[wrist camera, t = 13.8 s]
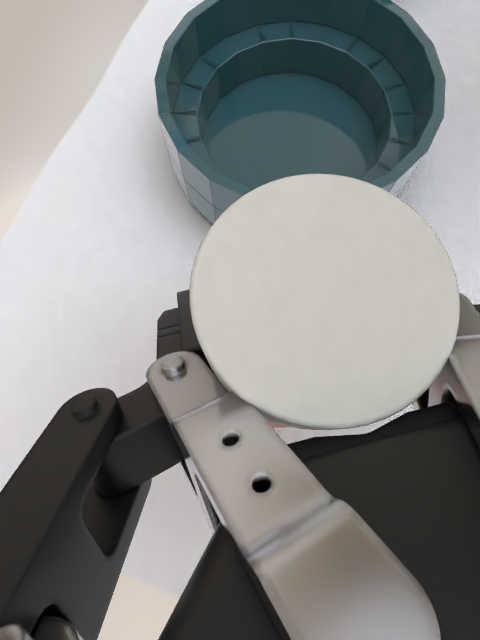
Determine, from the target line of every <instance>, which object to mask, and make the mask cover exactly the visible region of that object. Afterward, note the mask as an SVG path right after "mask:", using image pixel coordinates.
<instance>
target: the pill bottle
mask: <svg viewBox="0 0 480 640" xmlns="http://www.w3.org/2000/svg"><path fill="white" fill-rule="evenodd" d="M190 310H191V316H192V323H193V326H194V329H195V333H196V336H197V339H198V341H199V343H200V346H201V348H202V350H203V352H204V354H205V356H206V358H207V360H208V362H209V364H210V366H211V368H212V370H213V371H214V373H215V374H216V376H217V378H218V379H219V381H220V382H221V383H222V384H223V386H224V387H225V388H226V390H227V391H228V392H230V391H232V392H234V393H235V394H236V395H237V396H239V397H240V398H241V399H243V400H244V401H246V402H248V403H250V404H252V405H253V406H254V407H255V408H256V410H257V411H258V412H259V413H260V414H261V415H262V417H263V418H264V419H265V420H266V421H267V422H268V424H269V425H270V426H271V427H277V428H278V427H294V428H299V429H312V430H330V429H349V428H354V427H359V426H364V425H369V424H372V423H375V422H378V421H380V420H383V419H386V418H388V417H390V416H392V415H394V414H396V413H398V412H400V411H402V410H403V409H404V408H406V407H407V406H409V405H410V404H411V403H413V402H414V401H416V400H417V399H418V398H419V397H420V396H421V395H422V394H423V393H424V392H425V391H426V390H427V389H428V388H429V387H430V386H431V385H432V384H433V382H434V381H435V380H436V378H437V377H438V376H439V375H440V373H441V371H442V370H443V368H444V366H445V364H446V362H447V361H448V358H449V357H448V356H449V355H450V353H451V351H452V348H453V346H454V343H455V340H456V335H457V330H458V326H459V314H460V301H459V289H458V285H457V280H456V275H455V272H454V269H453V266H452V264H451V261H450V258H449V256H448V254H447V252H446V250H445V248H444V246H443V244H442V243H441V241H440V240H439V238H438V237H437V235H436V234H435V232H434V231H433V229H432V228H431V227H430V226H429V225H428V224H427V223H426V221H425V220H424V219H423V218H422V217H421V216H420V215H419V214H418V213H417V212H416V211H414V210H413V209H412V208H411V207H410V206H409V205H407V204H406V203H405V202H403V201H402V200H400V199H399V198H398V197H396V196H394V195H393V194H391V193H389V192H387V191H385V190H384V189H382V188H380V187H377V186H375V185H372V184H370V183H368V182H365V181H361V180H358V179H354V178H351V177H346V176H340V175H333V174H302V175H296V176H290V177H285V178H282V179H278V180H275V181H272V182H269V183H267V184H265V185H262V186H260V187H257V188H256V189H254V190H252V191H251V192H249V193H247V194H245V195H244V196H242V197H241V198H240V199H238V200H237V201H236V202H234V203H233V204H232V205H231V206H230V207H229V208H228V209H227V210H226V211H225V212H223V213H222V214H221V215H220V217H219V218H218V219H217V220H216V222H215V223H214V224H213V225H212V227H211V228H210V229H209V231H208V233H207V234H206V236H205V238H204V240H203V241H202V243H201V245H200V248H199V250H198V253H197V255H196V258H195V261H194V265H193V269H192V273H191V281H190Z"/></svg>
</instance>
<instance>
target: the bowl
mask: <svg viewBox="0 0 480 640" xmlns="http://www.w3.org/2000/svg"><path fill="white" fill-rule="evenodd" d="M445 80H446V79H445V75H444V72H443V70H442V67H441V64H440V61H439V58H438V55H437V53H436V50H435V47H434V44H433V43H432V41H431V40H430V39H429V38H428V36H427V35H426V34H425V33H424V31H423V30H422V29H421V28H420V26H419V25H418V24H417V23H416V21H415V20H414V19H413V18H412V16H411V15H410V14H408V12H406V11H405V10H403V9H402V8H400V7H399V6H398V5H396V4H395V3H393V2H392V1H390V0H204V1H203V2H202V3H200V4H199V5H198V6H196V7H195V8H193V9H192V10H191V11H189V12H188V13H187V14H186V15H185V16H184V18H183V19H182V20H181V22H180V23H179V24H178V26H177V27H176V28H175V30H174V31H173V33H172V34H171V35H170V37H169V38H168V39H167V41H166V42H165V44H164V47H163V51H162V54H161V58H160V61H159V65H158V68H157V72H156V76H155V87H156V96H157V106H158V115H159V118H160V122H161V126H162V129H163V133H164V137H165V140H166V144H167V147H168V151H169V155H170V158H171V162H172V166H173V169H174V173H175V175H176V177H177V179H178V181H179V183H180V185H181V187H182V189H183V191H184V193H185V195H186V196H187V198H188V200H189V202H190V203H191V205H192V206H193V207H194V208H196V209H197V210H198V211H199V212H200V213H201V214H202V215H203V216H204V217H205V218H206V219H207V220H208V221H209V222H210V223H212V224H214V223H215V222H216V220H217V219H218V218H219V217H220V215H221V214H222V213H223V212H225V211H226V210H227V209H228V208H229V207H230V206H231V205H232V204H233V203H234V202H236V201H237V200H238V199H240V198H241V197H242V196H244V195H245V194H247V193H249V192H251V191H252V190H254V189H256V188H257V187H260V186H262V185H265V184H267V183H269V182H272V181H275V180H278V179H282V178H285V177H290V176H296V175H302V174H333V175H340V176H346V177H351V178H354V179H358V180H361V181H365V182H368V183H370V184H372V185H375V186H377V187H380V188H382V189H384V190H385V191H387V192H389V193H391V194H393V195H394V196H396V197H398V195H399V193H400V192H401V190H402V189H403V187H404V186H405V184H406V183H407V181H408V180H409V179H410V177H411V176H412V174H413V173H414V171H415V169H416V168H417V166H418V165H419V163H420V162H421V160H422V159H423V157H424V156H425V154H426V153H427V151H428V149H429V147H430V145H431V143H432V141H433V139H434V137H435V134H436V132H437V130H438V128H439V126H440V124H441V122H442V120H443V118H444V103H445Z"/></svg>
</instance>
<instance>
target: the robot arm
mask: <svg viewBox="0 0 480 640" xmlns="http://www.w3.org/2000/svg"><path fill="white" fill-rule="evenodd" d="M177 301H178V308H175V309H171V310H167V311H164V312H163V314H162V315H161V316H160V318H159V319H158V324H157V330H158V331H157V338H158V339H157V360H156V361H155V362H154V363H153V364H152V365H151V366H150V367H149V369H148V370H147V373H146V378H147V382H146V383H145V384H144V385H142V386H141V387H139V388H138V389H136V390H134V391H132V392H130V393H128V394H126V395H123V396H121V397H119V398H117V397H116V395H115V393H114V392H113V391H111V390H110V389H106V388H95V389H90V390H87V391H84V392H82V393H79V394H77V395H76V396H74V397H72V398H71V399H69V400H68V401H67V402H66V403H64V404H63V405H62V406H61V408H60V409H59V410H58V411H57V413H56V414H55V416H54V417H53V419H52V420H51V421H50V423H49V424H48V426H47V427H46V428H45V430H44V431H43V433H42V434H41V436H40V437H39V438H38V440H37V441H36V443H35V444H34V445H33V447H32V448H31V450H30V451H29V453H28V454H27V455H26V457H25V458H24V460H23V461H22V462H21V464H20V465H19V467H18V468H17V469H16V471H15V472H14V474H13V475H12V477H11V478H10V479H9V481H8V482H7V484H6V485H5V486H4V488H3V489H2V491H1V492H0V640H97V638H98V635H99V632H100V629H101V627H102V624H103V621H104V618H105V615H106V612H107V609H108V606H109V604H110V600H111V598H112V595H113V592H114V589H115V586H116V584H117V581H118V578H119V575H120V572H121V569H122V566H123V564H124V561H125V558H126V555H127V552H128V549H129V546H130V543H131V541H132V538H133V535H134V532H135V529H136V526H137V523H138V521H139V518H140V515H141V512H142V509H143V506H144V503H145V500H146V498H147V495H148V492H149V489H150V486H151V480H152V478H153V477H154V476H156V475H158V474H160V473H162V472H163V471H165V470H167V469H169V468H170V467H172V466H174V465H176V464H177V463H180V465H181V467H182V469H183V471H184V473H185V475H186V477H187V479H188V482H189V484H190V486H191V488H192V490H193V492H194V494H195V496H196V498H197V500H198V502H199V504H200V506H201V508H202V510H203V513H204V515H205V517H206V520H207V522H208V524H209V527H210V529H211V531H212V534H213V536H212V538H211V540H210V542H209V544H208V546H207V547H206V549H205V551H204V553H203V555H202V557H201V559H200V561H199V563H198V565H197V567H196V569H195V570H194V572H193V574H192V576H191V578H190V580H189V582H188V584H187V586H186V588H185V590H184V591H183V593H182V595H181V597H180V599H179V601H178V603H177V605H176V607H175V609H174V611H173V613H172V614H171V616H170V618H169V620H168V622H167V624H166V626H165V628H164V630H163V632H162V633H161V635H160V637H159V639H158V640H480V304H479V305H473V304H472V303H471V302H470V301H469V299H468V298H467V297H466V296H464V295H463V294H461V293H459V301H460V314H459V326H458V330H457V335H456V340H455V343H454V346H453V348H452V351H451V353H450V355H449V356H448V357H449V358H448V361H447V362H446V364H445V366H444V368H443V370H442V371H441V373H440V375H439V376H438V377H437V378H436V380H435V381H434V382H433V384H432V385H431V386H430V387H429V388H428V389H427V390H426V391H425V392H424V393H423V394H422V395H421V396H420V397H419V398H418V399H417V400H416V401H414V402H413V403H412V404H413V407H414V411H411V412H407V413H405V414H404V415H402V416H400V417H398V418H396V419H394V420H392V421H391V422H389V423H387V424H385V425H383V426H381V427H379V428H378V429H376V430H374V431H372V432H370V433H367V434H360V435H343V436H326V437H313V438H310V439H306V440H302V441H298V442H295V443H291V444H286V443H285V442H284V441H283V440H282V439H281V437H280V436H279V435H278V434H277V433H276V432H275V430H274V429H273V428H272V427H271V426H270V425H269V424H268V422H267V421H266V420H265V419H264V418H263V417H262V415H261V414H260V413H259V412H258V411H257V410H256V408H255V407H254V406H253V405H252V404H250V403H248V402H246V401H244V400H243V399H241V398H240V397H239V396H237V395H236V394H235V393H234V392H232V391H230V392H228V391H227V390H226V388H225V387H224V386H223V385H222V383H221V382H220V381H219V379H218V378H217V376H216V374H215V373H214V371H213V370H212V368H211V366H210V364H209V362H208V360H207V358H206V356H205V354H204V352H203V350H202V348H201V346H200V343H199V341H198V339H197V336H196V333H195V329H194V326H193V323H192V316H191V310H190V290H186V291H182V292H178V293H177Z"/></svg>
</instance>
